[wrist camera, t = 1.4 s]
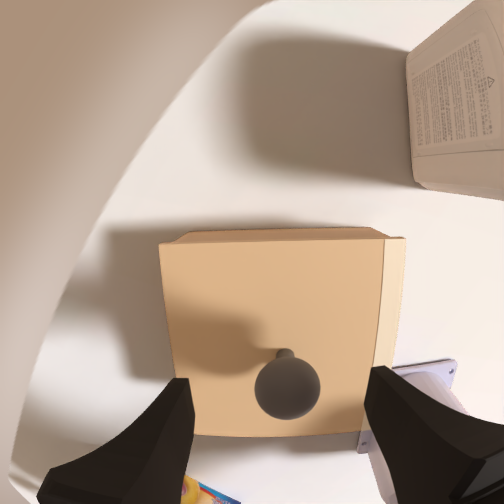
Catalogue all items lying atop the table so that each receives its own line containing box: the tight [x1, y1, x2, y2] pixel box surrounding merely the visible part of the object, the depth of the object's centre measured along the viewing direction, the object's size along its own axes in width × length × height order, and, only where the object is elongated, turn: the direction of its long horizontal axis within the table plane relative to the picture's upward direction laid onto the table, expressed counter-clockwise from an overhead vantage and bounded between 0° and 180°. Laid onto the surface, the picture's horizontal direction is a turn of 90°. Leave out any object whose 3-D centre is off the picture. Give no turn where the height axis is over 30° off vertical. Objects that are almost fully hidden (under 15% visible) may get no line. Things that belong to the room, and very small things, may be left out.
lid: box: [159, 237, 406, 437], centre depth 15 cm, size 12×12×5 cm
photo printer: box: [406, 0, 504, 201], centre depth 13 cm, size 10×4×12 cm, turn 1°
